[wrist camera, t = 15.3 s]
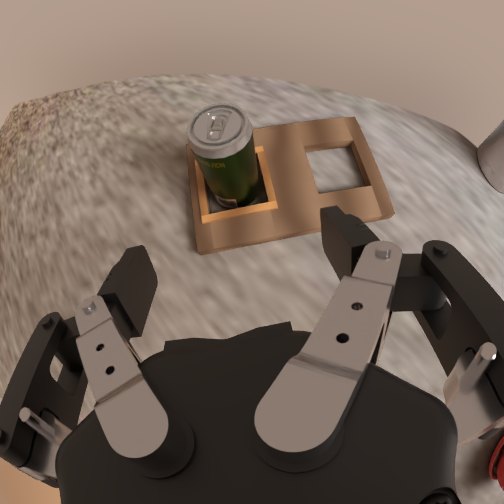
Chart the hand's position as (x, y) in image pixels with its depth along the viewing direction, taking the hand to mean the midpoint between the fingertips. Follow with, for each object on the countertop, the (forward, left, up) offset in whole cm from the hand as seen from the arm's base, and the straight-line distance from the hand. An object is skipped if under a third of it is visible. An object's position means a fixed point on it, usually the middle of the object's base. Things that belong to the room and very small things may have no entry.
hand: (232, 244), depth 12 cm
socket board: (-6, -12, -17) cm, 22 cm away
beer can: (0, -11, -17) cm, 21 cm away
